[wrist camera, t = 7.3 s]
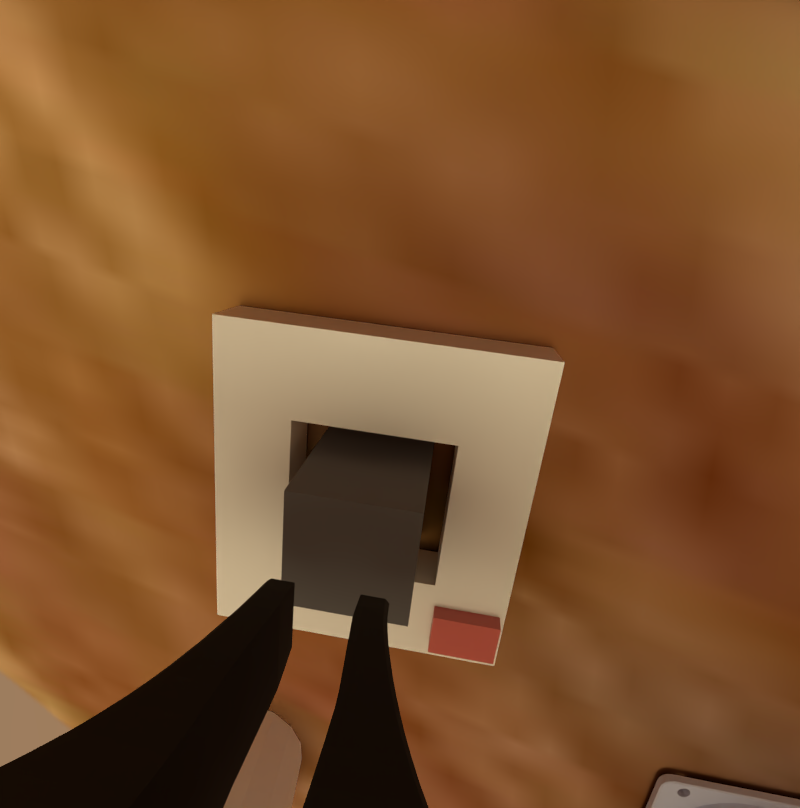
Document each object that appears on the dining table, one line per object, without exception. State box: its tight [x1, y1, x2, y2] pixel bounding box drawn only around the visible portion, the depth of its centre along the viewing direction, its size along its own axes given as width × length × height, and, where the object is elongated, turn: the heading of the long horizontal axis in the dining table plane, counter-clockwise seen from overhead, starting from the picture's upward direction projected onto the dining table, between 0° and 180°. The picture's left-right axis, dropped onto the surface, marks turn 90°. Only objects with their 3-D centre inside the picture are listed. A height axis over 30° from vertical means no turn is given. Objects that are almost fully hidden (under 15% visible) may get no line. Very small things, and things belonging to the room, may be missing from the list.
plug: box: [281, 426, 434, 627], centre depth 17 cm, size 4×4×5 cm
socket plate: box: [212, 306, 565, 666], centre depth 18 cm, size 11×12×3 cm
